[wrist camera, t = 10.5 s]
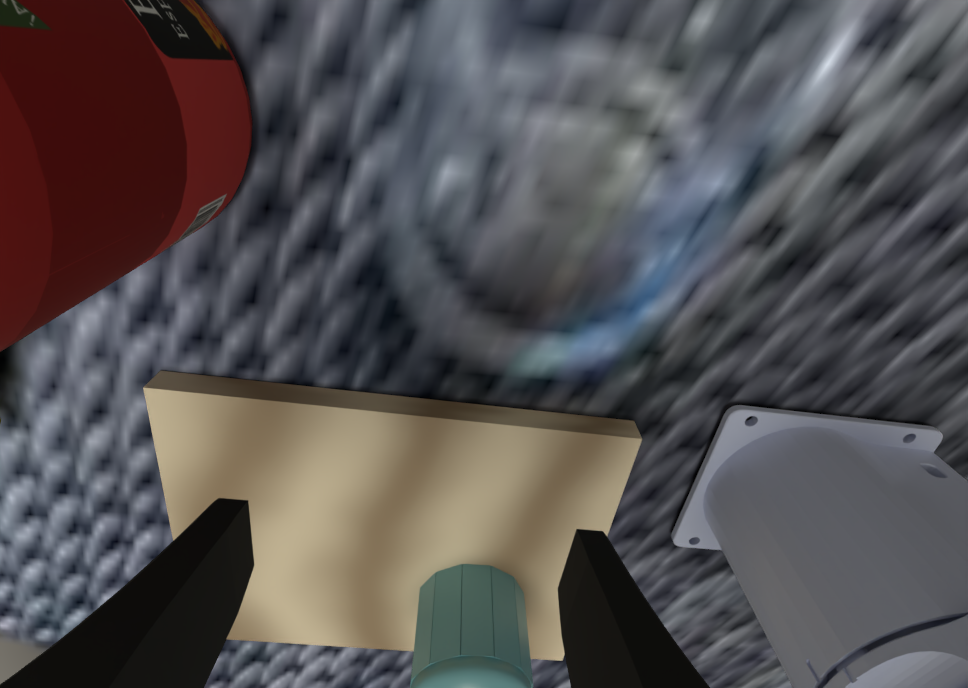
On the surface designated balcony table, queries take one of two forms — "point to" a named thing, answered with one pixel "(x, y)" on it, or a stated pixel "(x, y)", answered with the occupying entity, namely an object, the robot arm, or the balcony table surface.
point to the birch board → (383, 499)
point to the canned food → (108, 144)
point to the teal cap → (471, 631)
